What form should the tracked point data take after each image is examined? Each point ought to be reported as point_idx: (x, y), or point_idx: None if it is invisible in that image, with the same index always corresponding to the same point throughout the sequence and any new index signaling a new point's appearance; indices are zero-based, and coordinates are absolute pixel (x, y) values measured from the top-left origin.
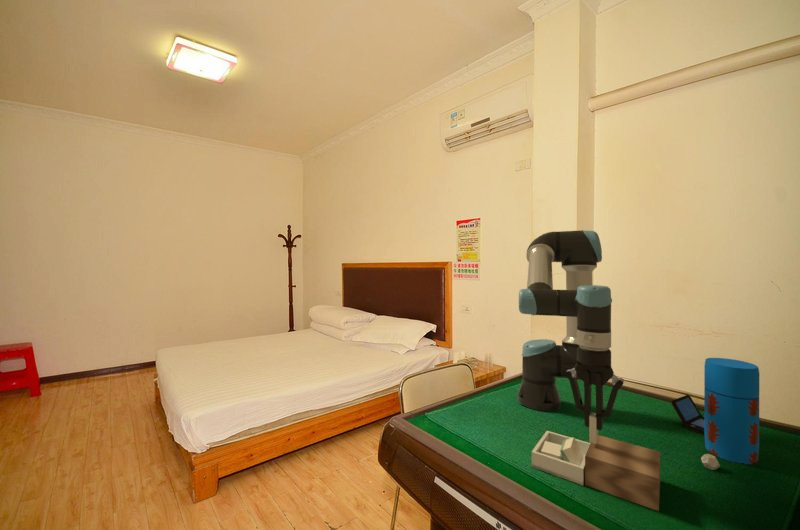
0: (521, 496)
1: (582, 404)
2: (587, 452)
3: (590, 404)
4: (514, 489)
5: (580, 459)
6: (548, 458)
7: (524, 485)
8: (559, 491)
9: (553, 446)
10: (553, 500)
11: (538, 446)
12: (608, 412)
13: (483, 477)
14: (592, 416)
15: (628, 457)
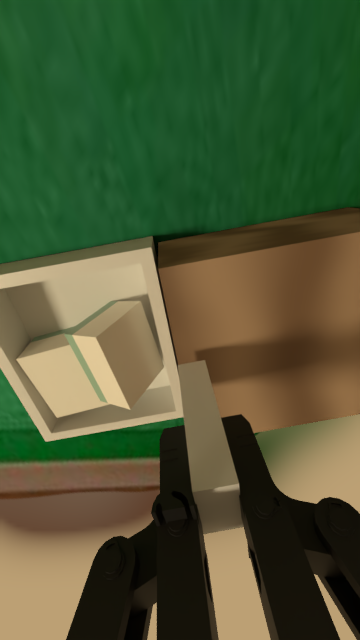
0: (115, 478)
1: (134, 592)
2: None
3: (214, 628)
4: (94, 474)
5: (153, 358)
6: (95, 429)
7: (98, 457)
8: (155, 429)
9: (60, 371)
10: (159, 453)
11: (34, 408)
12: (352, 588)
13: (31, 487)
14: (219, 525)
15: (312, 363)
